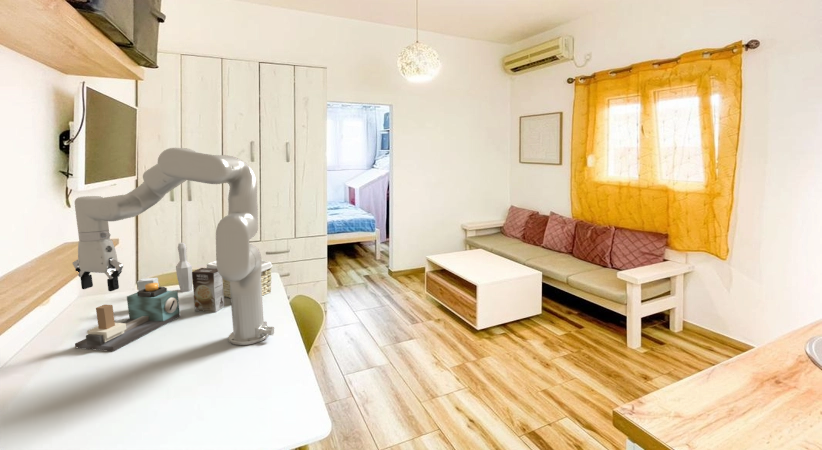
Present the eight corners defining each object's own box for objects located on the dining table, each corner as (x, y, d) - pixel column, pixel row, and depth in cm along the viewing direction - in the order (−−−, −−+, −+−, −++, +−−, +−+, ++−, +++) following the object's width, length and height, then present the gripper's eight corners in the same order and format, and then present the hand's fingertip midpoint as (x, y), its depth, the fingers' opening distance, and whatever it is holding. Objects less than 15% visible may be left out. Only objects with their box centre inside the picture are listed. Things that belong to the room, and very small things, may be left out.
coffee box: (194, 311, 155) (190, 271, 152) (204, 305, 161) (200, 267, 159) (216, 312, 154) (212, 272, 152) (225, 306, 160) (222, 268, 158)
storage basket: (275, 292, 178) (273, 260, 175) (246, 304, 163) (244, 269, 161) (237, 285, 188) (235, 255, 185) (207, 295, 173) (204, 263, 171)
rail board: (182, 316, 150) (179, 287, 148) (116, 351, 123) (111, 315, 121) (147, 314, 152) (144, 285, 150) (75, 347, 125) (70, 313, 123)
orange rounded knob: (161, 288, 147) (160, 283, 147) (152, 291, 143) (151, 286, 143) (151, 287, 148) (151, 282, 147) (142, 291, 144) (142, 285, 143)
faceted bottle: (175, 290, 180) (170, 243, 176) (189, 287, 185) (185, 241, 181) (182, 293, 176) (177, 245, 173) (196, 289, 181) (192, 242, 178)
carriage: (127, 333, 131) (123, 303, 130) (107, 342, 124) (103, 311, 123) (108, 331, 132) (104, 302, 131) (88, 341, 126) (84, 309, 124)
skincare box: (162, 305, 162) (159, 276, 160) (157, 309, 157) (153, 280, 155) (145, 306, 160) (142, 277, 159) (140, 310, 156) (136, 281, 154)
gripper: (129, 235, 125) (134, 287, 128) (82, 232, 128) (88, 283, 131) (107, 239, 118) (113, 294, 121) (58, 237, 121) (65, 291, 124)
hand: (100, 289), depth 126 cm, fingers open, 9 cm apart
